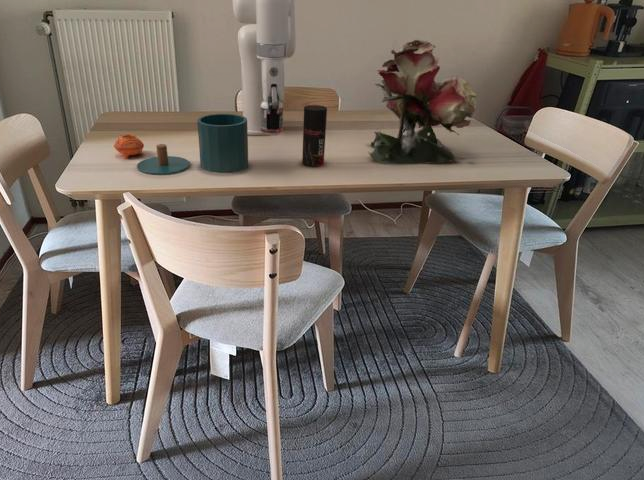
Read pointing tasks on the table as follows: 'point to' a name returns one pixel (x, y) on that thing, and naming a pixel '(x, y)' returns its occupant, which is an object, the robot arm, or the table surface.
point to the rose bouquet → (420, 106)
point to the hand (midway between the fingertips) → (271, 124)
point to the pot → (128, 145)
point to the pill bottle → (264, 118)
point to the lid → (163, 163)
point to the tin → (223, 142)
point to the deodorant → (314, 135)
